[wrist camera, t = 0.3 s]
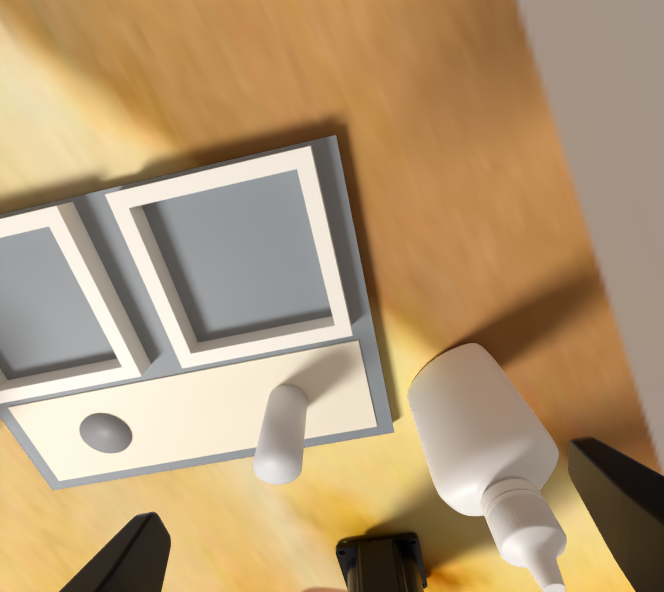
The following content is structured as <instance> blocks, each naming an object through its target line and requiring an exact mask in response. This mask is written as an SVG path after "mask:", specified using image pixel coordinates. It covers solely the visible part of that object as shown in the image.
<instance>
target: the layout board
mask: <svg viewBox="0 0 664 592" xmlns="http://www.w3.org/2000/svg"><path fill="white" fill-rule="evenodd" d="M0 418H1V419H2V421H3V422H4V423H5V425H6V426H7V428H8V429H9V430H10V432H11V433H12V435H13V436H14V437H15V439H16V440H17V441H18V443H19V444H20V446H21V447H22V448H23V450H24V451H25V453H26V454H27V455H28V457H29V458H30V460H31V461H32V462H33V464H34V465H35V467H36V468H37V469H38V471H39V472H40V474H41V475H42V476H43V478H44V479H45V481H46V482H47V483H48V485H49V486H50V488H51V489H52V490H57V489H63V488H69V487H75V486H81V485H87V484H93V483H99V482H105V481H111V480H116V479H122V478H128V477H134V476H140V475H146V474H152V473H158V472H164V471H169V470H175V469H181V468H187V467H193V466H199V465H205V464H211V463H217V462H223V461H228V460H234V459H240V458H246V457H252V456H254V460H253V470H254V472H255V474H256V475H257V476H258V477H259V478H260V479H261V480H263V481H265V482H267V483H270V484H277V485H280V484H287V483H290V482H292V481H294V480H295V479H296V478H297V477H298V476H299V475H300V473H301V470H302V459H303V448H305V447H311V446H317V445H323V444H329V443H335V442H340V441H346V440H352V439H358V438H364V437H370V436H376V435H382V434H388V433H393V432H394V428H393V423H392V418H391V413H390V408H389V403H388V398H387V392H386V387H385V382H384V377H383V372H382V367H381V362H380V357H379V352H378V347H377V341H376V336H375V331H374V326H373V321H372V316H371V311H370V306H369V301H368V296H367V290H366V285H365V280H364V275H363V270H362V265H361V260H360V255H359V250H358V245H357V240H356V234H355V229H354V224H353V219H352V214H351V209H350V204H349V199H348V194H347V189H346V183H345V178H344V173H343V168H342V163H341V158H340V153H339V148H338V143H337V138H336V135H333V136H329V137H325V138H320V139H316V140H312V141H308V142H303V143H299V144H295V145H291V146H287V147H282V148H278V149H274V150H270V151H266V152H261V153H257V154H253V155H249V156H244V157H240V158H236V159H232V160H228V161H223V162H219V163H215V164H211V165H206V166H202V167H198V168H194V169H190V170H185V171H181V172H177V173H173V174H169V175H164V176H160V177H156V178H152V179H147V180H143V181H139V182H135V183H131V184H126V185H122V186H118V187H114V188H110V189H105V190H101V191H97V192H93V193H88V194H84V195H80V196H76V197H72V198H67V199H63V200H59V201H55V202H50V203H46V204H42V205H38V206H34V207H29V208H25V209H21V210H17V211H13V212H8V213H4V214H0Z"/></svg>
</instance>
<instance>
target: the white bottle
mask: <svg viewBox="0 0 664 592" xmlns="http://www.w3.org/2000/svg"><path fill="white" fill-rule="evenodd" d="M407 397H408V401H409V404H410V408H411V411H412V414H413V418H414V421H415V425H416V428H417V431H418V435H419V438H420V441H421V445H422V448H423V451H424V455H425V458H426V461H427V464H428V468H429V471H430V474H431V477H432V480H433V483H434V486H435V488H436V490H437V492H438V494H439V496H440V497H441V498H442V499H443V500H444V501H445V502H446V503H447V504H448V505H449V506H450V507H452V508H453V509H454V510H456V511H457V512H459V513H461V514H464V515H467V516H485V519H486V521H487V524H488V526H489V529H490V531H491V533H492V536H493V538H494V541H495V543H496V546H497V548H498V551H499V553H500V555H501V557H502V558H503V559H504V560H505V561H506V562H508V563H509V564H511V565H514V566H517V567H522V568H528V570H529V571H530V573H531V574H532V576H533V577H534V579H535V580H536V582H537V583H538V585H539V586H540V588H541V589H542V591H543V592H565V589H566V588H565V585H564V582H563V579H562V576H561V573H560V570H559V567H558V564H557V561H556V559H557V558H558V557H559V556H560V555H561V554H562V552H563V551H564V549H565V547H566V542H567V539H566V535H565V533H564V531H563V529H562V528H561V526H560V524H559V523H558V521H557V519H556V518H555V516H554V514H553V513H552V511H551V509H550V507H549V506H548V504H547V502H546V501H545V499H544V497H543V496H542V494H541V492H540V489H541V488H542V487H543V485H544V484H545V483H546V482H547V480H548V479H549V477H550V476H551V474H552V472H553V471H554V469H555V467H556V465H557V461H558V458H559V452H558V448H557V445H556V444H555V442H554V440H553V439H552V437H551V436H550V434H549V433H548V432H547V430H546V429H545V427H544V426H543V424H542V423H541V422H540V420H539V419H538V417H537V416H536V415H535V413H534V412H533V411H532V409H531V408H530V407H529V405H528V404H527V402H526V401H525V400H524V398H523V397H522V396H521V394H520V393H519V392H518V390H517V389H516V387H515V386H514V385H513V383H512V382H511V381H510V379H509V378H508V377H507V375H506V374H505V373H504V371H503V370H502V368H501V367H500V366H499V364H498V363H497V362H496V361H495V359H494V358H493V357H492V356H491V355H490V354H489V353H488V352H487V351H486V350H485V349H484V348H483V347H482V346H481V345H479V344H477V343H468V344H464V345H461V346H458V347H456V348H453V349H451V350H449V351H447V352H445V353H443V354H441V355H440V356H438V357H437V358H435V359H434V360H432V361H431V362H430V363H429V364H428V365H426V366H425V367H424V368H423V369H422V370H421V371H420V373H419V374H418V375H417V376H416V378H415V379H414V380H413V382H412V383H411V385H410V387H409V389H408V395H407Z"/></svg>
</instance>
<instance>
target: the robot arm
mask: <svg viewBox="0 0 664 592" xmlns="http://www.w3.org/2000/svg"><path fill="white" fill-rule="evenodd" d="M568 470H569V475H570V477H571V480H572V482H573V484H574V486H575V487H576V489H577V491H578V493H579V495H580V497H581V498H582V500H583V502H584V504H585V506H586V508H587V510H588V511H589V513H590V515H591V517H592V519H593V521H594V522H595V524H596V526H597V528H598V530H599V532H600V533H601V535H602V537H603V539H604V541H605V543H606V544H607V546H608V548H609V550H610V552H611V553H612V555H613V557H614V559H615V560H616V562H617V564H618V565H619V567H620V568H621V570H622V571H623V573H624V575H625V576H626V578H627V579H628V581H629V582H630V584H631V585H632V587H633V588H634V590H635V591H636V592H664V476H663V475H661V474H659V473H657V472H656V471H654V470H652V469H650V468H648V467H646V466H645V465H643V464H641V463H639V462H637V461H636V460H634V459H632V458H630V457H628V456H626V455H625V454H623V453H621V452H619V451H617V450H616V449H614V448H612V447H610V446H608V445H606V444H605V443H603V442H601V441H599V440H597V439H595V438H593V437H582V438H576V439H572V440H570V441H569V444H568ZM170 547H171V538H170V535H169V533H168V531H167V529H166V528H165V526H164V524H163V522H162V521H161V519H160V517H159V515H158V514H157V513H155V512H149V513H143V514H139V515H136V516H135V517H134V518H133V519H131V520H130V521H129V522H128V523H127V524H126V525H125V526H124V527H123V528H122V529H121V530H120V531H119V532H118V533H117V534H116V535H115V536H114V537H113V538H112V539H111V540H110V541H109V542H108V543H107V544H106V545H105V546H104V547H103V548H102V549H101V550H100V551H99V552H98V553H97V554H96V555H95V556H94V557H93V558H92V559H91V560H90V561H89V562H88V563H87V564H86V565H85V566H84V567H83V568H82V569H81V570H80V571H79V572H78V573H77V574H76V575H75V576H74V577H73V578H72V579H71V580H70V581H69V582H68V583H67V584H66V585H65V586H64V587H63V588H62V589H61V590H60V591H59V592H161V590H162V586H163V581H164V576H165V571H166V567H167V562H168V557H169V552H170ZM336 555H337V559H338V562H339V565H340V568H341V571H342V574H343V577H344V580H345V583H346V586H347V589H348V592H424V590H423V589H425V588H426V587H427V580H426V575H425V570H424V565H423V560H422V554H421V549H420V544H419V539H418V536H417V534H415V533H408V534H401V535H394V536H387V537H381V538H374V539H367V540H360V541H354V542H347V543H340V544H338V545H337V546H336Z"/></svg>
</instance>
